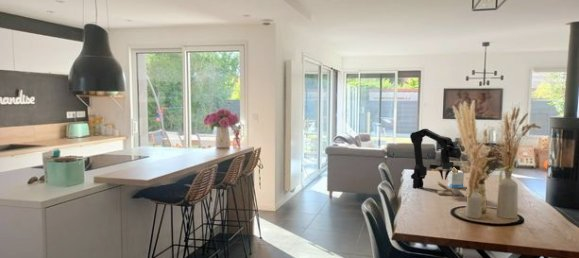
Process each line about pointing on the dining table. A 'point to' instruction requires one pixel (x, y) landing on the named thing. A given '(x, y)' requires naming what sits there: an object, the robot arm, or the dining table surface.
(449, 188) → the plank rear
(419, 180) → the robot arm
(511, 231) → the dining table surface
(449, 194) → the plank front
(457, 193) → the tan wooden tile
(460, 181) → the ink box
